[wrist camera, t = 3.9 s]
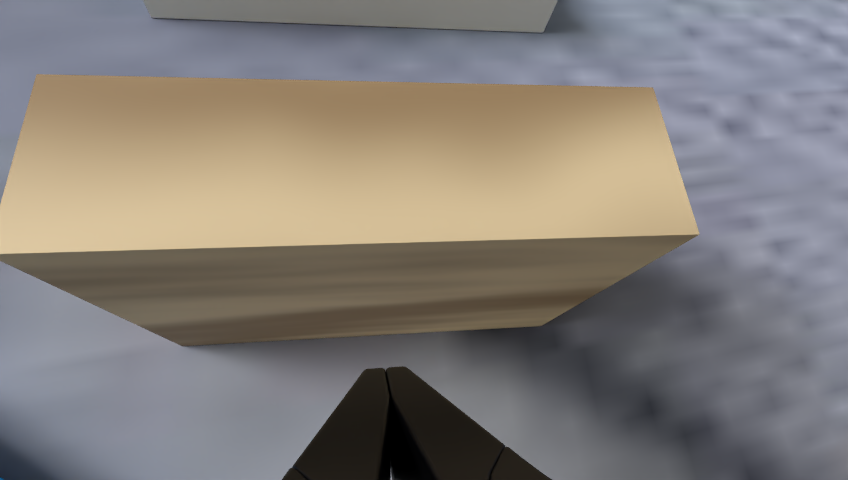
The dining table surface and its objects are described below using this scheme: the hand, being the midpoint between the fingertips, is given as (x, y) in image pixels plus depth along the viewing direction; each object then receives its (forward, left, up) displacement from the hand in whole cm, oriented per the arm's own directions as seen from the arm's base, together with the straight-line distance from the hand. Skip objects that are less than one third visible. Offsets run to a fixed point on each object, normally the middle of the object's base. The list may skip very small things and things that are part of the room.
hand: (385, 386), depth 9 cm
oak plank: (+4, -3, -9) cm, 10 cm away
